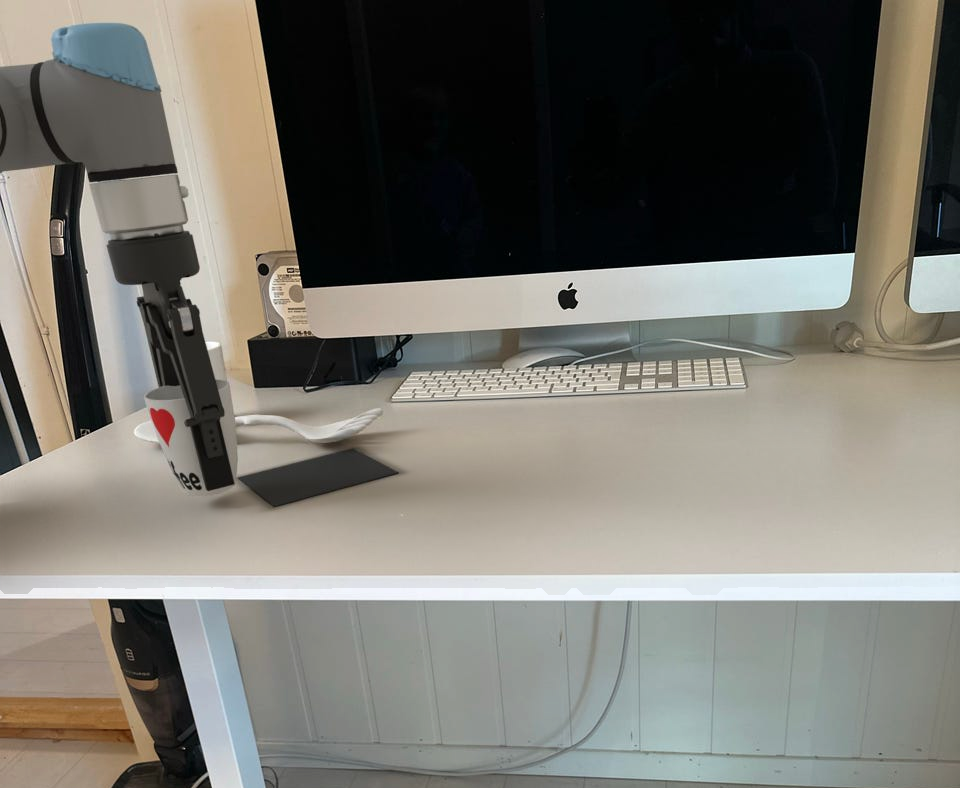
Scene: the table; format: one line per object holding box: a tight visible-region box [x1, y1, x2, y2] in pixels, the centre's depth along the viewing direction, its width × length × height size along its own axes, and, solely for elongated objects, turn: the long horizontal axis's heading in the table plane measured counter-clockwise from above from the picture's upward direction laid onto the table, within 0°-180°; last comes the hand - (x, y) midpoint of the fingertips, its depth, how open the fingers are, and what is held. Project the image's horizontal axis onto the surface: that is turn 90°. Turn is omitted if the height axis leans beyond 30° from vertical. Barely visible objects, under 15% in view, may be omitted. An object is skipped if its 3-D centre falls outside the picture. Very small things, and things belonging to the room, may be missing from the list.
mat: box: [237, 448, 399, 508], centre depth 98 cm, size 14×12×1 cm
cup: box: [143, 379, 239, 497], centre depth 90 cm, size 8×8×10 cm
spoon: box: [133, 407, 384, 445], centre depth 111 cm, size 9×32×4 cm, turn 72°
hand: (208, 476), depth 92 cm, fingers closed on cup, 8 cm apart
